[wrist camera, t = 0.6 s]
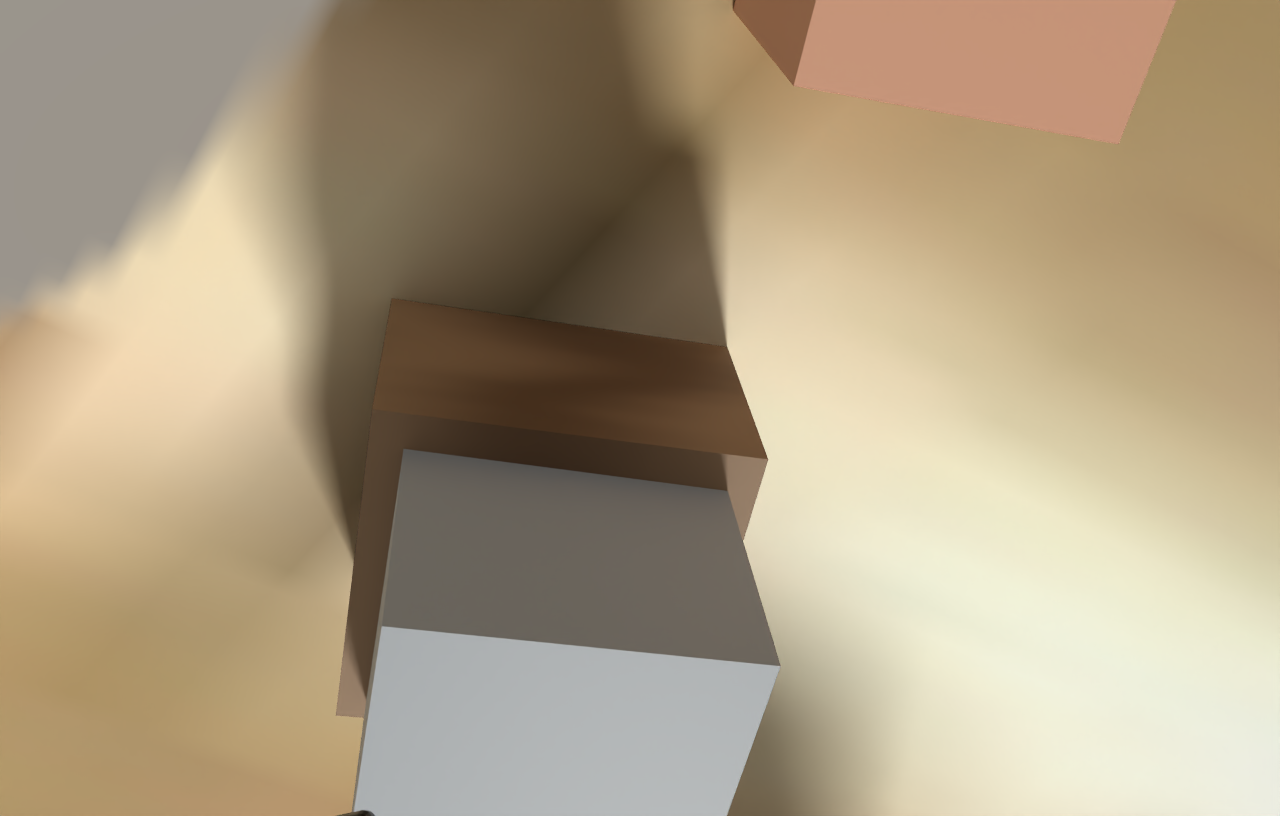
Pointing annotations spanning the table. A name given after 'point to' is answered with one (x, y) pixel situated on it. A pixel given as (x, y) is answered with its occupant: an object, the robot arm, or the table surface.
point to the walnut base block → (539, 424)
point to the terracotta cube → (972, 55)
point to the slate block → (561, 647)
